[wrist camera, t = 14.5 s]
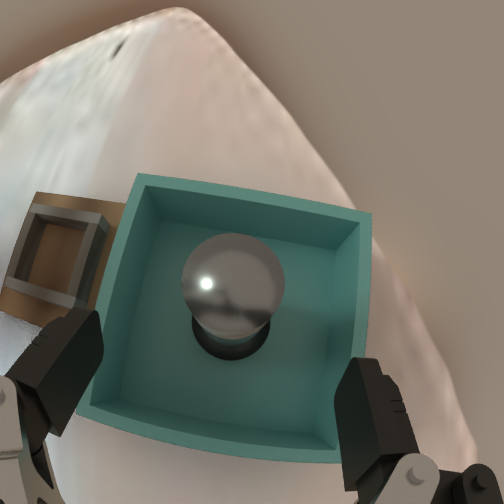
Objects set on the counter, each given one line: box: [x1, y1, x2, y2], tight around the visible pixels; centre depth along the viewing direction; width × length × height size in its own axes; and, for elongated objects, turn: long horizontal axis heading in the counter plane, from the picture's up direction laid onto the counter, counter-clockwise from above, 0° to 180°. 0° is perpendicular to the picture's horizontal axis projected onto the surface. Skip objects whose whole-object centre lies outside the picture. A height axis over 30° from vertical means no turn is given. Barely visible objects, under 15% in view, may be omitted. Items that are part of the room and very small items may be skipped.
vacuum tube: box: [181, 233, 285, 361], centre depth 15 cm, size 5×5×12 cm
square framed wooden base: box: [0, 192, 126, 328], centre depth 21 cm, size 11×11×3 cm
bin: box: [76, 173, 372, 463], centre depth 19 cm, size 15×15×6 cm
